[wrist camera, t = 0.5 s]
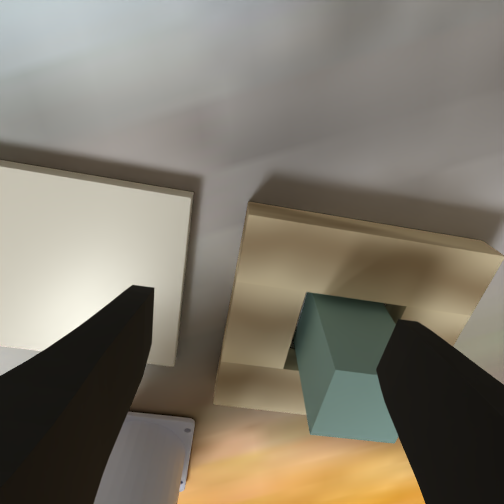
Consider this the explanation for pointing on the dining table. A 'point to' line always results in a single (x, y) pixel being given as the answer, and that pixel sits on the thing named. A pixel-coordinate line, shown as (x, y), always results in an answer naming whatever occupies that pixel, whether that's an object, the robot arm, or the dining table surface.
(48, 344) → the cream plate
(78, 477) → the robot arm
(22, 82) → the dining table surface
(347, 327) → the teal block
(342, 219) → the pocket holder
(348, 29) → the dining table surface
